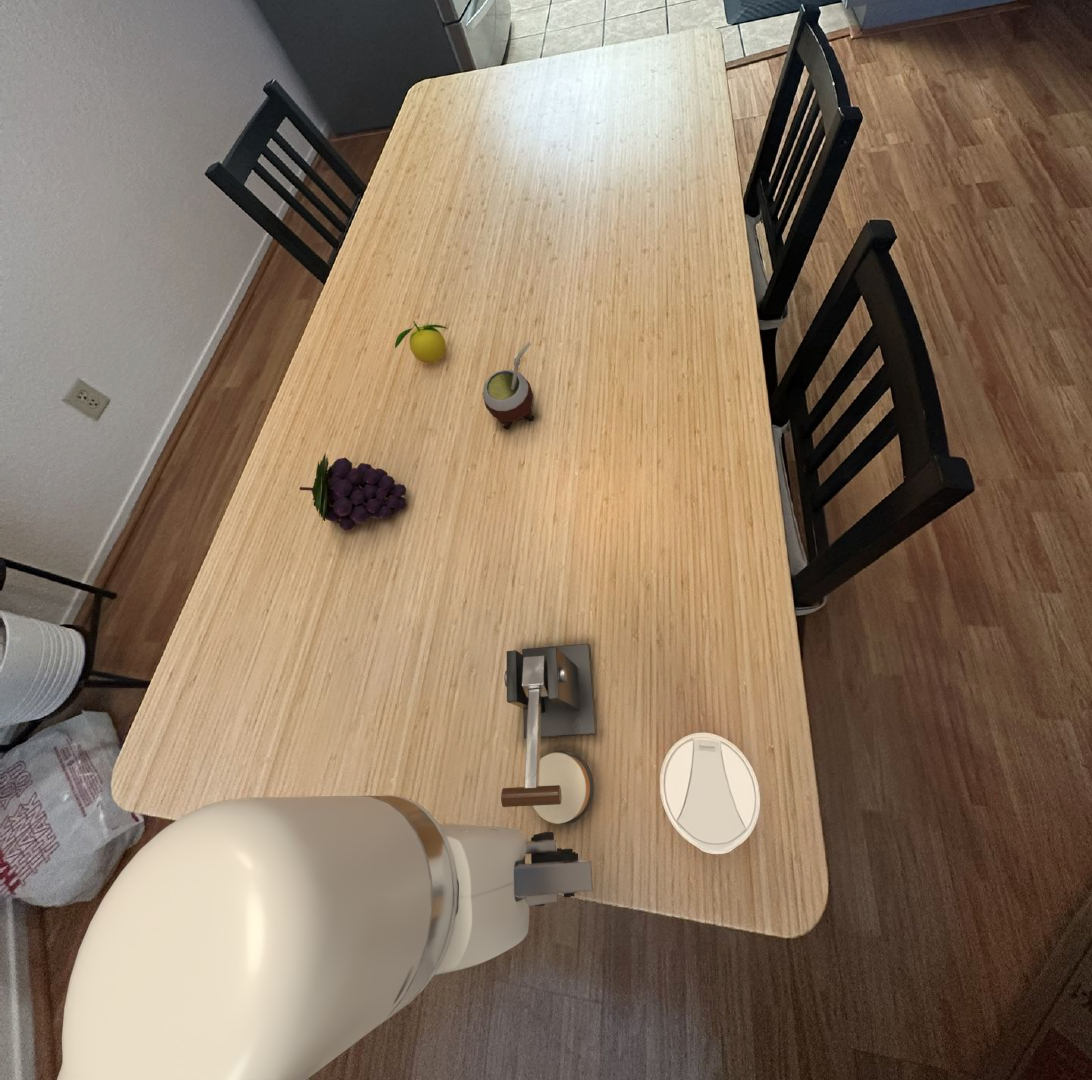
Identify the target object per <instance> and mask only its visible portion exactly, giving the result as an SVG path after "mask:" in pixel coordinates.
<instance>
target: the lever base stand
mask: <svg viewBox="0 0 1092 1080" xmlns="http://www.w3.org/2000/svg"><path fill="white" fill-rule="evenodd" d="M505 655H506V670H505V672H504V676H503V677H504V679H503V680H504V685H505V687H506V703H508V704H511V705H514V706H516V707H519V708H522V710H523V711H522V712H523V714H522V715H523V738H524V739H525V740H526V739H527V717H528V698H527V697H526V694H525V692H524V690H523V688H522V668H523V657H533V656H545V658H546V661H547V677H548V696H543V697H542V699H541V734H540V739H547V738H559V737H560V738H563V737H576V736H577V737H578V736H594V735H598V729H597V717H596V704H595V691H594V680H593V679H594V678H593V666H592V651H591V645H590V643H579V644H567V645H553V646H544V647H543V646H542V647H531V648H530V647H529V648H522V649H521V652H519V651H518V650H517V649H516V650H515V649H514V650H507V651H506V653H505Z"/></svg>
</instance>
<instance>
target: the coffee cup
mask: <svg viewBox="0 0 1092 1080" xmlns="http://www.w3.org/2000/svg"><path fill="white" fill-rule="evenodd" d="M659 793H660V794H659V795H660V798H661V802H662V805H663V809H664V811H665V814H666V815H667V818H668V820H669V822H670V824H672V826H673V828H674V830H676V831H677V832H678V834H679V835H680V836H681V837H682V838H683V839H684V840H686V841H687V842H688V843H690V844H691V845H692V846H695V847H696V848H698V849H699V850H701V851H702V852H703V853H707V854H712V855H722V854H723V855H724V854H728V853H729V854H730V852H731V851H733V850H734V849H736V848H737V847H739V846H740V845H742V844H743V843H744V842H745V841H746V840H747V839H748V838H749V837H750V835H751V834H752V833H753V831H754V828H756V827H755V826H756V824H757V823H758V818H759V815H760V809H761V808H760V807H761V794H760V793H761V792H760V787H759V782H758V779H757V776H756V773H755V771H754V769H753V767H752V765H751V763H750V762H749V760H748V758H747V757H746V756H745V755H744V753H743V752H742V751H741V750H740V748H738V746H737V745H735V744H734V743H732V742H731V741H730V740H728V739H726V738H725V737H722V736H721V735H718V734H715V733H711V732H695V733H691V734H688V735H685V736H683V737H682V738H680V739H679V740H677V741H676V742H674V744H673V745H672V746H671V748H670V749H669V750H668V751H667V753H666V755H665V758H664V759H663V762H662V764H661V768H660V773H659Z"/></svg>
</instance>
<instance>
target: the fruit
mask: <svg viewBox="0 0 1092 1080" xmlns="http://www.w3.org/2000/svg"><path fill="white" fill-rule="evenodd" d="M326 454H327V453H326V452H325V453H324V454H323V457H322V459H321V460H320V461H319V460H318V463H317V465H316V466H317V467H316V471H315V478H314V482H313V486H312V487H307V486H300V487H299V491H309V492H311V494H312V501H313V507H315V509H316V512H317V513H318V517H319V518H322V520H321V523H323V522H326V520H327V521H329V522H331V523H337V524H338V526H339V528H340V529H341V530H342V531H347V532H348V531H352V530H353V529H355V527H356V525H357V524H362V523H363V524H365V523H366V521H368V519H370V518H375V519H386V518H390V517H392V516H394V515H396V512H397V511H398V512H400V511H402V510H403V509H405V508H407V498H406V497H404V496H406V495H407V488H406V485H405V484H401V483H397V484H396V483H395V481H396V480H395V479H394V478H393V476H391V475H389V474H388V472H387V471H386V470H385V469H383V468H378V467H377V468H374V467H372V465H371V464H370V463H365V462H360V463H359V464H358V465H357V467H353V462H351V461H350V460H349V459H348V458H347V457H341V458H337V459H336V460H335V461H334V462H333V463H332V464H331V465H330V466H329V462H330V461H329V459H328V455H329V454H327V455H326Z"/></svg>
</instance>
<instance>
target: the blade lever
mask: <svg viewBox="0 0 1092 1080" xmlns="http://www.w3.org/2000/svg"><path fill="white" fill-rule="evenodd" d="M522 688H523V690H524V692H525V694H526V697H527V698H528V717H527V739H525V740H526V743H525V763H524V783H523V784H524V785H523V786H517V787H516V786H515V787H502V789H501V793H500V803H501V807H502V808H513V807H514V808H515V807H533V806H538V805H559V804H561V800H562V794H561V787H560V785H553V786H539V769H540V759H541V738H540V734H541V699H542V697H543V696H548V677H547V661H546V658H545V656H533V657H523V668H522Z"/></svg>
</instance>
